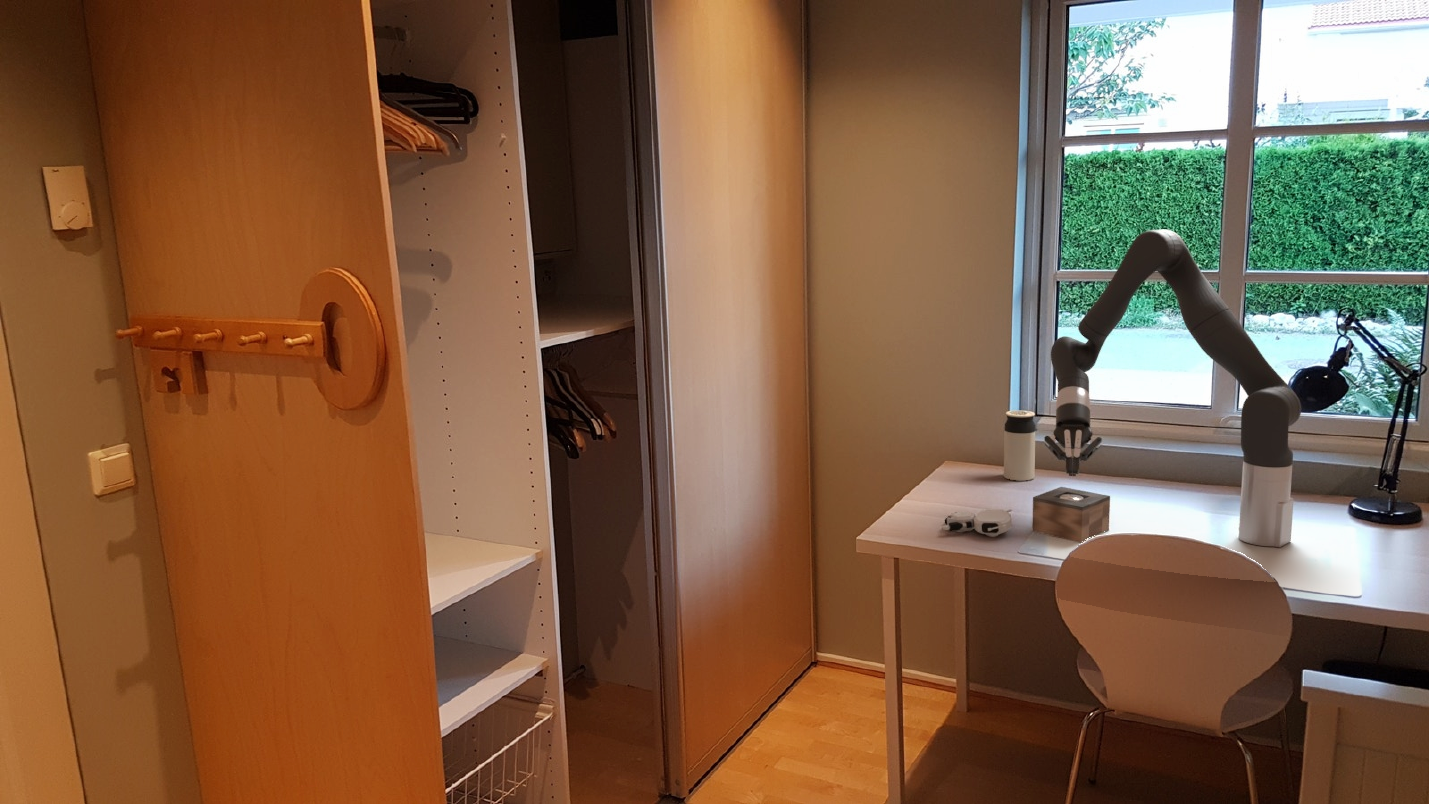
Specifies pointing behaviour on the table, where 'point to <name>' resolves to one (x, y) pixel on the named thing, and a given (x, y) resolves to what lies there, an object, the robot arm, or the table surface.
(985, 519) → the robot toy
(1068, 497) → the peg
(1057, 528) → the band block
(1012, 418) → the travel mug
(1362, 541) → the table surface
